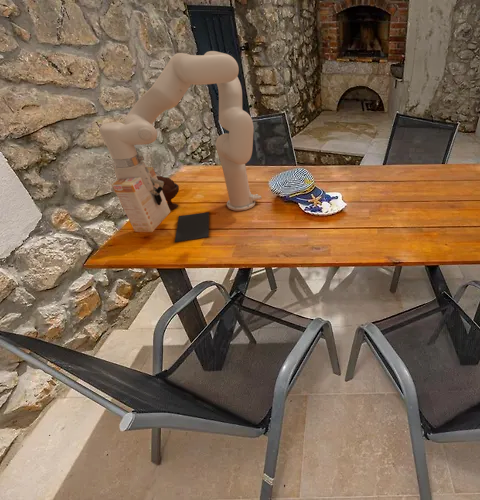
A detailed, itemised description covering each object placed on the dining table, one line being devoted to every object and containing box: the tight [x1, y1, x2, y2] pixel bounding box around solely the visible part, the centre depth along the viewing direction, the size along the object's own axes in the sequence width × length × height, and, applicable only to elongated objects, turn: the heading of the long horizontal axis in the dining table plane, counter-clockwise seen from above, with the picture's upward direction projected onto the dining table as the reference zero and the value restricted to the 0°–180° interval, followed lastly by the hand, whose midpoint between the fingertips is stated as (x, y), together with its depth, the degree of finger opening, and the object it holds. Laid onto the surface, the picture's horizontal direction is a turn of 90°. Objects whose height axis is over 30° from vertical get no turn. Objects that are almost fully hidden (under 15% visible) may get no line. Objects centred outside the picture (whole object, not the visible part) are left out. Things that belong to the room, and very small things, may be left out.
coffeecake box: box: [111, 166, 172, 233], centre depth 118 cm, size 15×7×20 cm, turn 179°
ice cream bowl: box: [156, 175, 180, 211], centre depth 138 cm, size 11×11×15 cm
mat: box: [174, 211, 210, 243], centre depth 130 cm, size 12×20×1 cm, turn 19°
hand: (146, 205), depth 119 cm, fingers closed on coffeecake box, 8 cm apart
